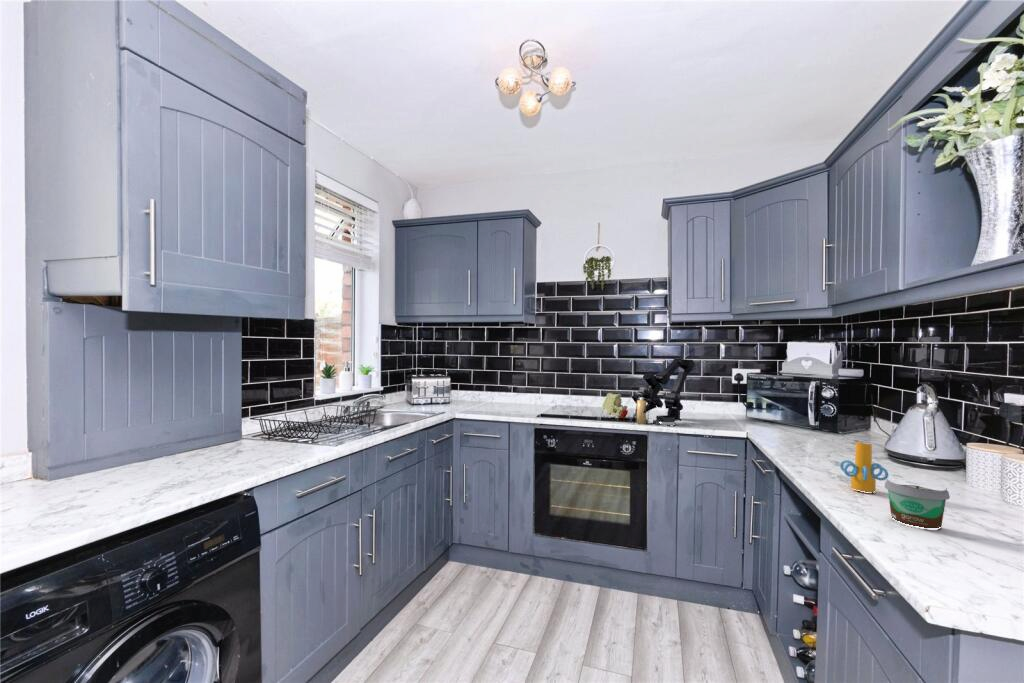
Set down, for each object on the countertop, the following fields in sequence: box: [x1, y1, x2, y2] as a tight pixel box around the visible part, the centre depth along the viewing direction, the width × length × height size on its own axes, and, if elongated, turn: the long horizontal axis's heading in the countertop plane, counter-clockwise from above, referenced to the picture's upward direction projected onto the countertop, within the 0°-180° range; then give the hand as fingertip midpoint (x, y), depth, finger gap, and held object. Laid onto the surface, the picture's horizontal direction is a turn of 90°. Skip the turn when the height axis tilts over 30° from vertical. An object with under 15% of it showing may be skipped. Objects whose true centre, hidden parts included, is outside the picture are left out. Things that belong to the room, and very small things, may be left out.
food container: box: [883, 478, 951, 528], centre depth 110 cm, size 12×6×10 cm, turn 52°
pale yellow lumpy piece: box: [600, 392, 629, 419], centre depth 265 cm, size 8×17×20 cm, turn 53°
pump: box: [636, 397, 647, 425], centre depth 248 cm, size 5×5×15 cm
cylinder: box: [839, 440, 889, 492], centre depth 136 cm, size 12×10×15 cm
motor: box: [652, 414, 676, 426], centre depth 246 cm, size 12×10×4 cm
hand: (639, 412), depth 247 cm, fingers closed on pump, 5 cm apart
